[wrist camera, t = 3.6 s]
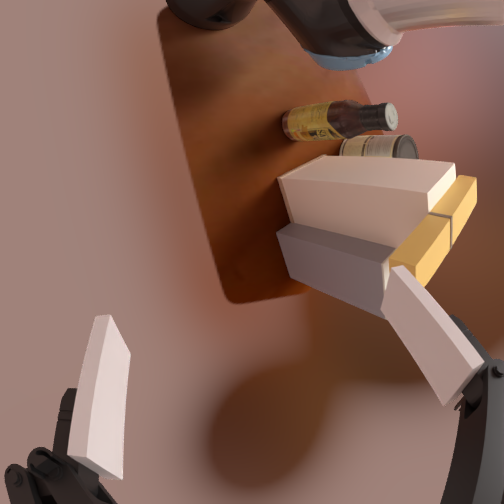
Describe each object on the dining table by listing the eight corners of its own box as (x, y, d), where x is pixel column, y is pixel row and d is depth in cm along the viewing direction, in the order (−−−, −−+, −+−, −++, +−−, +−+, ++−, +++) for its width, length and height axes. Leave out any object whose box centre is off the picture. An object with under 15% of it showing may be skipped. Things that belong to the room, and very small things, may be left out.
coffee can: (369, 149, 63) (422, 152, 52) (359, 188, 63) (413, 195, 52) (345, 126, 57) (403, 124, 45) (333, 167, 57) (392, 171, 46)
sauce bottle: (280, 141, 48) (379, 136, 32) (279, 107, 46) (376, 89, 31) (307, 142, 52) (402, 141, 36) (306, 110, 50) (400, 99, 34)
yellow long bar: (390, 291, 27) (416, 300, 25) (388, 257, 25) (416, 265, 23) (460, 199, 37) (477, 202, 34) (459, 174, 35) (476, 177, 32)
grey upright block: (290, 277, 57) (386, 319, 39) (275, 232, 52) (383, 264, 35) (330, 246, 61) (422, 274, 44) (320, 203, 57) (421, 222, 39)
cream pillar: (291, 225, 54) (429, 261, 32) (276, 177, 50) (426, 192, 28) (333, 197, 59) (457, 219, 37) (322, 154, 54) (455, 161, 33)
